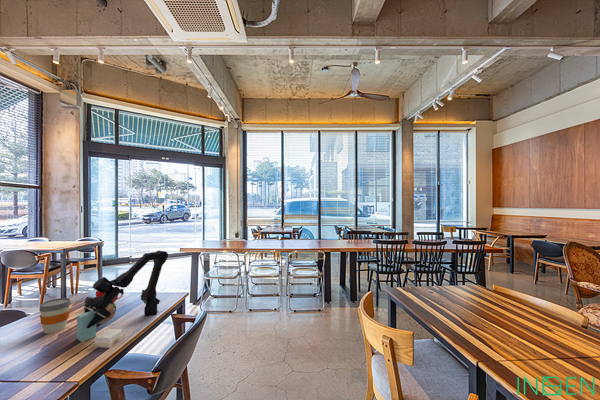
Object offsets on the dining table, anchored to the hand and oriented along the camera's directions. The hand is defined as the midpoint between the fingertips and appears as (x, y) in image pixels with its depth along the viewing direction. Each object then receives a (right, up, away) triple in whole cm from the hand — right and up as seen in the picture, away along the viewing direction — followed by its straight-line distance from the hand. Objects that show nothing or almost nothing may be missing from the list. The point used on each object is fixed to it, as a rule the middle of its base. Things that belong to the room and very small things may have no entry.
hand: (83, 325), depth 130 cm
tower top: (+16, -5, -3) cm, 17 cm away
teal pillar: (+1, -7, +1) cm, 7 cm away
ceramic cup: (-19, -7, +44) cm, 49 cm away
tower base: (+16, -7, -3) cm, 18 cm away
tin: (-4, -7, +20) cm, 22 cm away
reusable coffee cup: (-24, -7, +10) cm, 26 cm away
